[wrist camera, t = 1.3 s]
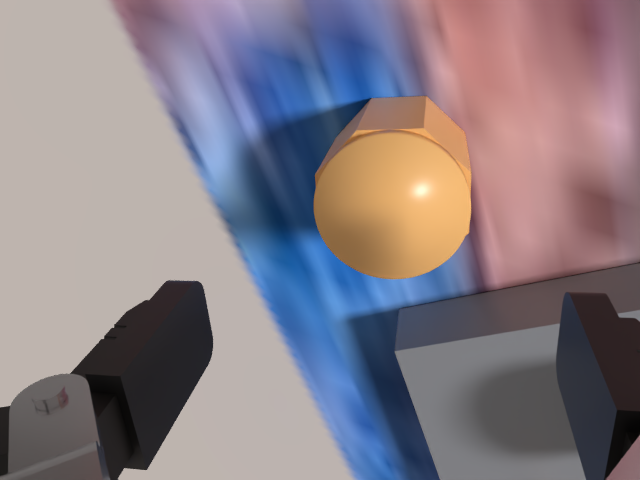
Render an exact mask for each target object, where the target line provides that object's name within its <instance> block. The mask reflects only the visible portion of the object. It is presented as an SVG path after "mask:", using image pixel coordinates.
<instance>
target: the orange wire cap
mask: <svg viewBox="0 0 640 480" xmlns="http://www.w3.org/2000/svg"><path fill="white" fill-rule="evenodd" d="M315 182H316V190H315V195H314V215H315V221H316V224H317V228H318V230H319V233H320V235H321V237H322V239H323V240H324V242H325V244H326V245H327V246H328V248H329V249H330V250H331V251H332V253H333V254H334V255H335V256H336V257H338V258H339V259H340V260H341V261H342V262H344V263H345V264H346V265H348V266H349V267H351V268H353V269H355V270H357V271H359V272H361V273H363V274H366V275H370V276H373V277H378V278H384V279H404V278H411V277H415V276H419V275H422V274H424V273H427V272H429V271H431V270H433V269H435V268H437V267H438V266H440V265H441V264H443V263H444V262H445V261H447V260H448V259H449V258H450V257H451V256H452V255H453V254H454V253H455V251H456V250H457V249H458V248H459V246H460V244H461V243H462V241H463V240H464V237H465V236H466V235H467V234H468V233H469V223H470V217H471V200H470V193H471V167H470V161H469V155H468V148H467V142H466V135H465V132H464V131H463V130H462V129H461V128H460V127H458V126H457V125H456V124H455V123H454V122H453V121H452V120H451V119H450V118H449V117H448V116H447V115H446V114H445V113H444V112H443V111H442V110H441V109H440V108H438V107H437V106H436V105H435V104H434V103H433V102H432V101H431V100H430V99H429V98H428V97H427V96H412V97H388V98H371V99H370V100H369V102H368V103H367V104H366V105H365V106H364V107H363V108H362V109H361V110H360V111H359V113H358V114H357V115H356V116H355V117H354V118H353V119H352V120H351V121H350V122H349V123H348V125H347V126H346V127H345V128H344V129H343V130H342V131H341V132H340V133H339V134H338V136H337V137H336V138H335V140H334V142H333V144H332V146H331V147H330V149H329V151H328V153H327V154H326V156H325V158H324V160H323V161H322V163H321V165H320V167H319V169H318V170H317V172H316V174H315Z"/></svg>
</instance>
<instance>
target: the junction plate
mask: <svg viewBox="0 0 640 480" xmlns="http://www.w3.org/2000/svg"><path fill="white" fill-rule="evenodd" d="M566 292H593V293H606V294H607V295H608V297H609V299H610V301H611V303H612V305H613V307H614V309H615V310H616V312H617V314H618V316H619V317H621V318H636V319H637V320H638V321H640V263H637V264H632V265H627V266H621V267H616V268H611V269H606V270H601V271H595V272H590V273H585V274H580V275H574V276H569V277H564V278H559V279H554V280H548V281H543V282H538V283H533V284H528V285H522V286H517V287H512V288H507V289H501V290H496V291H491V292H486V293H481V294H475V295H470V296H465V297H460V298H454V299H449V300H444V301H439V302H434V303H428V304H423V305H418V306H413V307H407V308H402V309H399V314H398V323H397V332H396V341H395V354H396V357H397V360H398V363H399V366H400V368H401V371H402V374H403V377H404V380H405V382H406V385H407V388H408V391H409V394H410V396H411V399H412V402H413V405H414V408H415V411H416V413H417V416H418V419H419V422H420V425H421V427H422V430H423V433H424V436H425V439H426V441H427V444H428V447H429V450H430V453H431V456H432V458H433V461H434V464H435V467H436V470H437V472H438V475H439V478H440V480H586V478H585V474H584V471H583V468H582V464H581V461H580V457H579V454H578V450H577V447H576V444H575V440H574V437H573V433H572V430H571V426H570V423H569V420H568V416H567V413H566V409H565V406H564V402H563V399H562V396H561V392H560V389H559V385H558V381H557V373H556V353H557V344H558V336H559V328H560V319H561V311H562V303H563V298H564V295H565V293H566Z"/></svg>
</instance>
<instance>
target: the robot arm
mask: <svg viewBox="0 0 640 480" xmlns="http://www.w3.org/2000/svg"><path fill="white" fill-rule="evenodd" d="M212 351H213V336H212V330H211V325H210V320H209V314H208V309H207V304H206V298H205V294H204V289H203V286H202V284H201V283H200V282H198V281H170V280H169V281H166V282H165V283H164V284H163V285H162V286H161V288H160V289H159V290H158V291H157V292H156V293H155V294H154V296H153V297H152V298H151V299H150V300H145V301H143V302H142V303H140V304H138V305H137V306H135V307H134V308H132V309H130V310H129V311H127V312H126V313H125V314H124V315H123V316H122V317H121V319H120V320H119V321H118V322H117V323H116V324H115V325H114V328H111V329H110V331H109V332H108V333H107V334H106V335H105V336H104V339H101V340H100V341H99V343H98V344H97V345H96V346H95V347H94V348H93V349H92V351H90V353H89V354H88V355H87V356H86V357H85V358H84V359H83V360H82V361H81V362H80V364H79V365H78V366H77V367H76V368H75V369H74V370H73V371H72V372H71V373H70V374H59V375H54V376H51V377H47V378H44V379H42V380H40V381H38V382H35V383H33V384H32V385H30V386H28V387H27V388H25V389H24V390H23V391H22V392H20V393H19V394H18V395H17V397H15V399H14V400H13V402H12V403H11V406H8V407H1V408H0V480H118V477H119V475H120V474H121V472H122V471H123V469H124V468H130V469H140V470H147V469H148V467H149V465H150V464H151V462H152V460H153V458H154V456H155V455H156V453H157V451H158V450H159V448H160V446H161V445H162V443H163V441H164V440H165V438H166V436H167V434H168V433H169V431H170V429H171V427H172V426H173V424H174V422H175V421H176V419H177V417H178V415H179V414H180V412H181V410H182V409H183V407H184V405H185V403H186V402H187V400H188V398H189V397H190V395H191V393H192V391H193V390H194V388H195V386H196V385H197V383H198V381H199V379H200V377H201V376H202V374H203V373H204V371H205V369H206V367H207V366H208V364H209V362H210V359H211V356H212ZM556 373H557V381H558V385H559V389H560V392H561V396H562V399H563V402H564V406H565V409H566V413H567V416H568V420H569V423H570V426H571V430H572V433H573V437H574V440H575V444H576V447H577V450H578V454H579V457H580V461H581V464H582V468H583V471H584V474H585V478H586V480H640V321H638V320H637V319H636V318H621V317H619V316H618V314H617V312H616V310H615V309H614V307H613V305H612V303H611V301H610V299H609V297H608V295H607V294H606V293H593V292H566V293H565V295H564V298H563V303H562V311H561V319H560V328H559V336H558V344H557V353H556Z"/></svg>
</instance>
